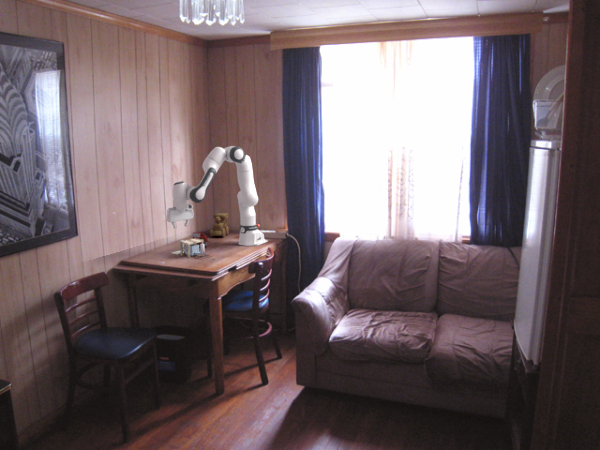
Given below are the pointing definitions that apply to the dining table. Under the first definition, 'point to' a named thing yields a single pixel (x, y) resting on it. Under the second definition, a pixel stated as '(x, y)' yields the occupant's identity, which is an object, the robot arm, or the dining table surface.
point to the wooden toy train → (220, 225)
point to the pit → (203, 256)
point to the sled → (194, 249)
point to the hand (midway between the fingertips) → (180, 227)
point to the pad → (176, 252)
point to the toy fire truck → (199, 236)
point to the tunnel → (188, 245)
